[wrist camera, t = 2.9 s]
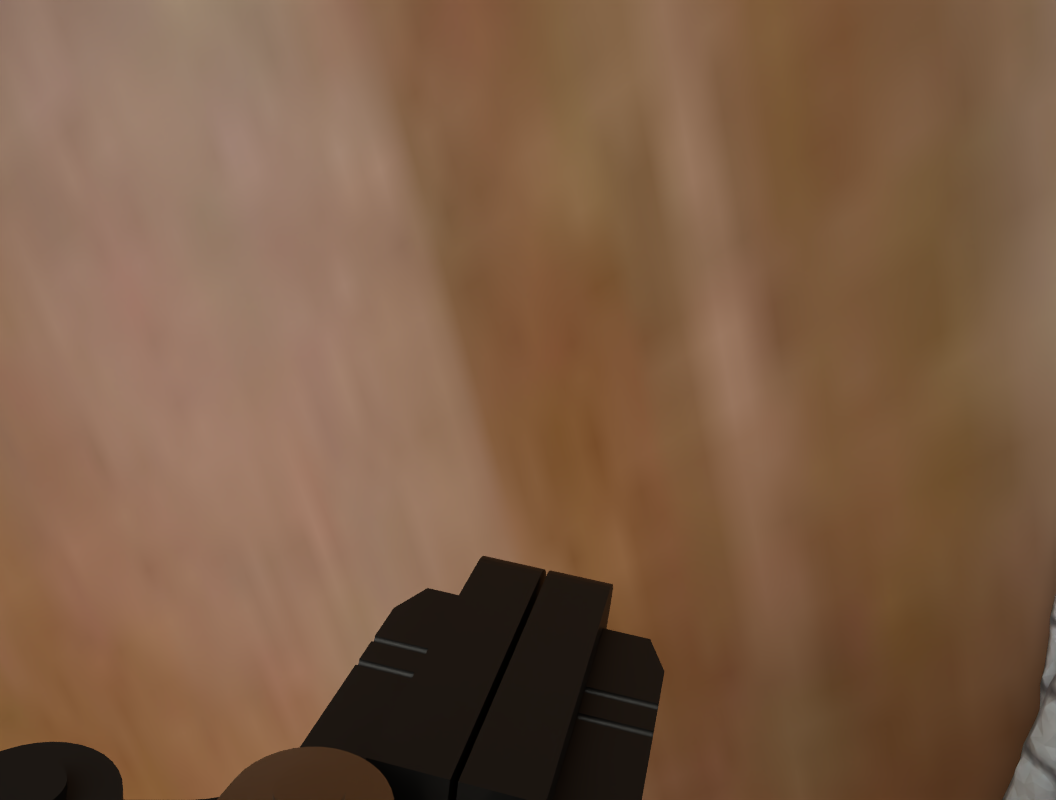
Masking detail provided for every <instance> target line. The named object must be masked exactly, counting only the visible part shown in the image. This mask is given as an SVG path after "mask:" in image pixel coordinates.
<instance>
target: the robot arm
mask: <svg viewBox="0 0 1056 800" xmlns="http://www.w3.org/2000/svg"><path fill="white" fill-rule="evenodd" d="M612 590H613V584H609V583H604V582H600V581H595V580H591V579H586V578H582V577H577V576H573V575H568V574H564V573H559V572H555V571H549V572H548V574H547V576H546V571H545V569H540V568H536V567H531V566H527V565H522V564H518V563H513V562H509V561H504V560H500V559H496V558H491V557H487V556H482V557H481V558H480V560H479V561H478V563H477V565H476V566H475V568H474V570H473V572H472V573H471V575H470V577H469V579H468V580H467V582H466V584H465V586H464V587H463V589H462V591H461V593H460V594H459V595H455V594H451V593H446V592H442V591H438V590H433V589H429V588H427V589H425V590H424V591H422V592H420V593H419V594H417V595H415V596H413V597H412V598H410V599H408V600H407V601H405V602H403V603H402V604H400V605H398V606H396V607H395V608H394V609H393V610H392V612H391V613H390V615H389V616H388V618H387V619H386V620H385V622H384V623H383V625H382V626H381V628H380V629H379V631H378V632H377V634H376V635H375V639H374V642H372V641H371V643H370V644H369V646H368V647H367V649H366V650H365V652H364V653H363V655H362V656H361V658H360V659H359V664H358V665H355V666H354V668H353V669H352V671H351V672H350V674H349V675H348V677H347V678H346V680H345V681H344V683H343V684H342V686H341V687H340V689H339V690H338V692H337V693H336V695H335V696H334V698H333V699H332V701H331V702H330V703H329V705H328V706H327V708H326V709H325V711H324V712H323V714H322V715H321V717H320V718H319V720H318V721H317V723H316V724H315V726H314V727H313V729H312V730H311V732H310V733H309V735H308V736H307V738H306V739H305V741H304V742H303V743H302V745H301V746H300V748H292V749H288V750H284V751H280V752H277V753H274V754H271V755H269V756H266V757H264V758H262V759H260V760H258V761H257V762H255V763H253V764H252V765H250V766H249V767H247V768H246V769H245V770H243V771H242V772H241V773H240V774H239V775H238V776H237V777H236V778H235V779H234V780H233V781H232V783H231V784H230V785H229V786H228V787H227V788H226V790H225V791H224V792H223V793H222V794H221V795H220V797H216V798H210V799H198V800H642V795H643V789H644V784H645V778H646V772H647V767H648V761H649V755H650V750H651V744H652V738H653V733H654V727H655V721H656V716H657V710H658V704H659V699H660V693H661V687H662V682H663V676H664V670H663V667H662V665H661V663H660V661H659V658H658V656H657V654H656V651H655V649H654V647H653V645H652V642H651V640H650V639H647V638H643V637H638V636H634V635H630V634H625V633H621V632H617V631H612V630H608V629H606V628H607V622H608V616H609V610H610V604H611V598H612ZM0 800H123V785H122V778H121V775H120V773H119V770H118V769H117V767H116V766H115V765H114V763H113V762H112V761H111V760H110V759H109V758H107V757H106V756H105V755H104V754H102V753H100V752H98V751H96V750H94V749H92V748H89V747H86V746H83V745H79V744H73V743H67V742H42V743H33V744H27V745H21V746H17V747H14V748H10V749H6V750H3V751H0Z"/></svg>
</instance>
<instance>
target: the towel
mask: <svg viewBox="0 0 1056 800" xmlns="http://www.w3.org/2000/svg"><path fill="white" fill-rule="evenodd" d="M1002 800H1056V595H1055V599H1054V603H1053V608H1052V612H1051V616H1050V635H1049V642H1048V648H1047V655H1046V661H1045V667H1044V671H1043V675H1042V679H1041V683H1040V710H1039V713H1038V715H1037V717H1036V720H1035V722H1034V724H1033V726H1032V728H1031V730H1030V732H1029V734H1028V736H1027V738H1026V740H1025V742H1024V744H1023V748H1022V753H1021V757H1020V762H1019V763H1018V765H1017V767H1016V769H1015V773H1014V775H1013V778H1012V780H1011V782H1010V784H1009V786H1008V788H1007V791H1006V793H1005V795H1004V797H1003V799H1002Z"/></svg>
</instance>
